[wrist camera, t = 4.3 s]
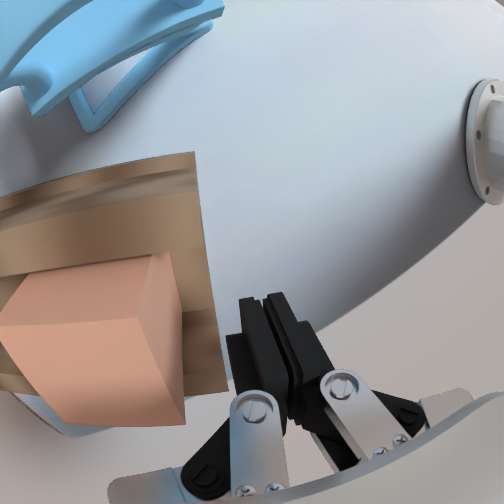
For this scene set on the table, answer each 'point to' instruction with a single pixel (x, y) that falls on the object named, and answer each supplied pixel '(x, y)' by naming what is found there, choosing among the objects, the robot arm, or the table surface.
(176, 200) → the chute
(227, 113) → the table surface
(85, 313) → the block
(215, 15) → the chair
